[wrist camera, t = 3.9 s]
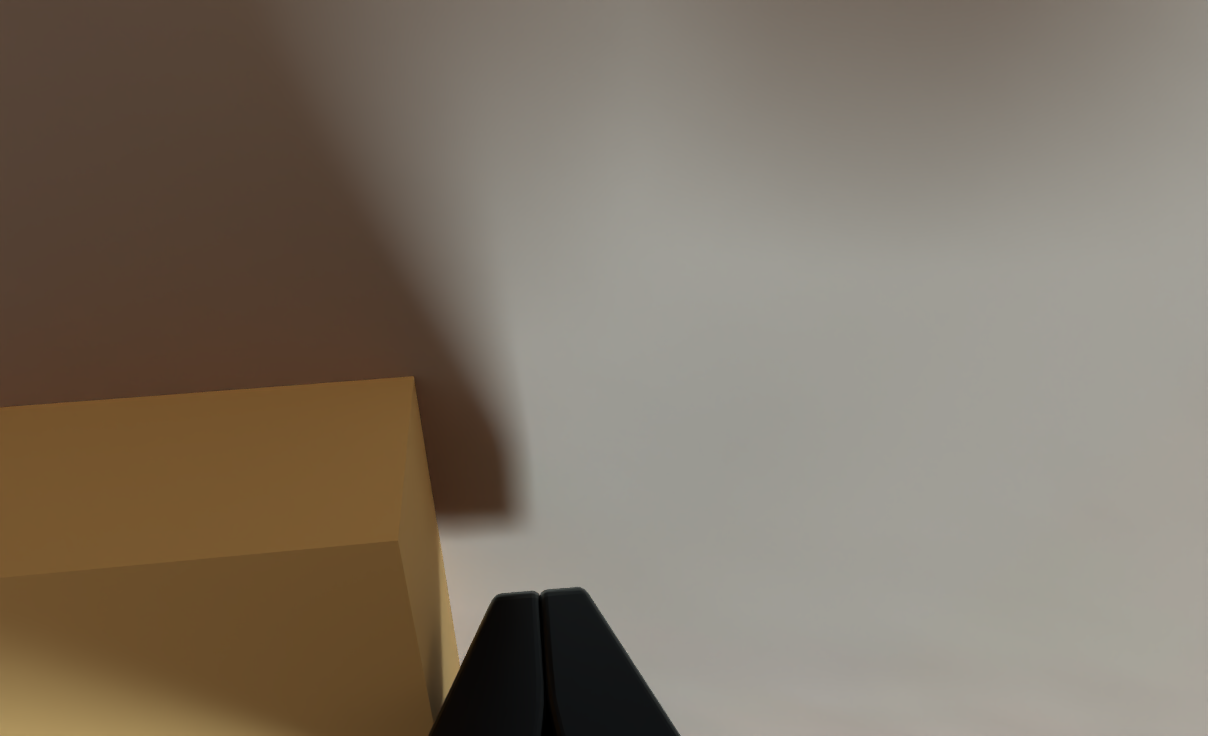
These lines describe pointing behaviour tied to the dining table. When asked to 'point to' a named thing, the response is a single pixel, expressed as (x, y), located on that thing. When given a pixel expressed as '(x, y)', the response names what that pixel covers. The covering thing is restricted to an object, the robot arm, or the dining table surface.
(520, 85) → the dining table surface
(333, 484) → the tan cardboard box
